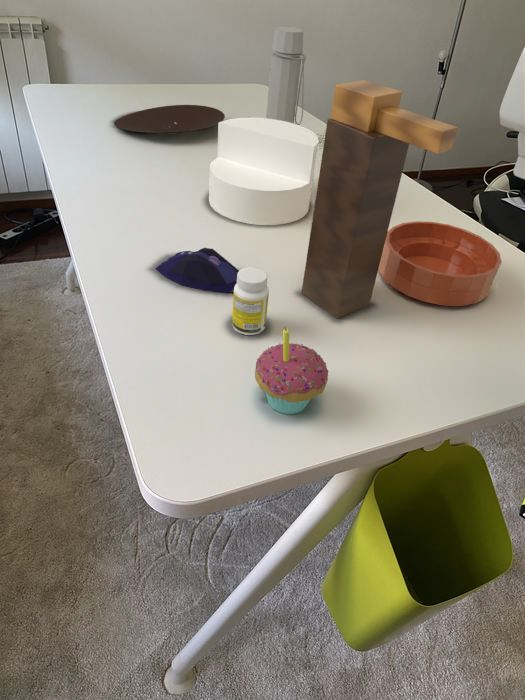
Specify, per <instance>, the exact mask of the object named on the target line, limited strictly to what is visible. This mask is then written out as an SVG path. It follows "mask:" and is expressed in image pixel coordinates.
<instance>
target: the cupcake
mask: <svg viewBox="0 0 525 700" xmlns="http://www.w3.org/2000/svg"><path fill="white" fill-rule="evenodd" d="M283 328H284V329H283V330H282V343H280V344H276V345H274V346H271V347H267V349H265V350H264V351H263V352H262V353H261V354H260V355H259V357H258V358H257V359H256V362H255V369H254V378H255V381H256V383H257V385H258V387H259V388H260V390H262V391H263V392H265V396H266V399H267V402H268V405H269V406H270V407H271V408H272V409H273V410H275V411H276V412H278V413H281V414H285V415H294V414H298V413H300V412H302V411H304V410H305V409H306V407H307V405H308V404H309V402H310V401H311V400H312V399H314V398H316V397H317V396H319V395H321V394H323V392H324V391H325V389H326V386H327V383H328V381H329V380H328V379H329V370H328V366H327V363H326V362H325V361H324V359H323V357H321V355H320V354H318V352H317V351H316V350H314V349H313V348H310V347H308V346H305V345H304V344H303V343H300V344H298V343H293V342H291V343H290V330H289V328H287V325H286V324H284V325H283Z"/></svg>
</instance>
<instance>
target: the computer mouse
mask: <svg viewBox="0 0 525 700" xmlns="http://www.w3.org/2000/svg"><path fill="white" fill-rule="evenodd" d="M155 270H156V271H157V272H159V274H161V275H162V276H163V277H164V278H166V279H168V280H170V281H171V282H174V283H176V284H178V285H179V286H181V287H182V286H183V287H187V288H191V289H196V290H200V291H205V292H214V293H223V294H229V293H231V292H234V287H235V285H236V284H237V274H238V272H239V270H240V269H238V268H237V267H236V266H234V265H233V264H232V263H231V262H229V260H227V259H226V258H225V257H224V256H222V255H221V253H219V252H218V251H216V250H215V249H214V248H209V247H203V248H200V249H198V250H196V251H191V250H185V251H179V252H177V253H175V254H174V255H172V256H170V257H168V258H167V259H165V260H164V261H162V262H161V263H160V264H159V265H158V266H157V267H155Z"/></svg>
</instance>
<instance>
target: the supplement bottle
mask: <svg viewBox="0 0 525 700" xmlns="http://www.w3.org/2000/svg"><path fill="white" fill-rule="evenodd" d="M238 270H239V272H238V274H237V284H236V285H235V287H234V291H233V294H232V295H233V297H232V298H233V299H232V317H231V325H232V328H233V330H235V331H236V332H237V333H239V334H242V335H246V336H255V335H259V334H261V333H262V332H264V330H265V328H266V325H267V314H268V304H269V296H270V290H269V289H270V288H269V286H268V274H267V272H266V270H263V269H262V268H259V267H255V266H246V267H243V268H241V269H238Z"/></svg>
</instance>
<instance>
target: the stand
mask: <svg viewBox="0 0 525 700" xmlns="http://www.w3.org/2000/svg"><path fill="white" fill-rule="evenodd" d="M326 121H327V122H326V128H325V134H324V141H323V147H322V155H321V160H320V168H319V174H318V181H317V188H316V195H315V199H314V205H313V207H314V208H313V214H312V219H311V227H310V234H309V238H308V239H309V241H308V248H307V254H306V260H305V266H304V271H303V273H304V274H303V278H302V279H303V280H302V286H301V294H302V295H303V296H304V297H305V298H307V299H308V300H310V301H311V302H312V303H314V304H315V305H317V306H318V307H320V308H321V309H323V310H324V311H325V312H326V313H328V314H329V315H331V316H332V317H334V318H335V319H336V320H337V319H341V318H343V317H345V316H347V315H349V314H352V313H354V312H356V311H358V310H361V309H363V308H367V307H368V306H370V305H371V300H372V296H373V293H374V288H375V284H376V280H377V276H378V272H379V264H380V260H381V256H382V252H383V248H384V244H385V240H386V236H387V232H388V231H389V228H390V224H391V219H392V215H393V213H394V207H395V204H396V200H397V196H398V192H399V189H400V188H399V187H400V183H401V179H402V175H403V172H404V167H405V163H406V159H407V155H408V150H409V148H410V144H409V143H406V142H403V141H401V140H398V139H395V138H392V137H390V136H387V135H384V134H381V133H379V132H376V131H371V132H365V131H363V130H360V129H357V128H354V127H352V126H349V125H346V124H344V123H341V122H338V121H336V120H333V119H331V117H330V118H327V120H326Z"/></svg>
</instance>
